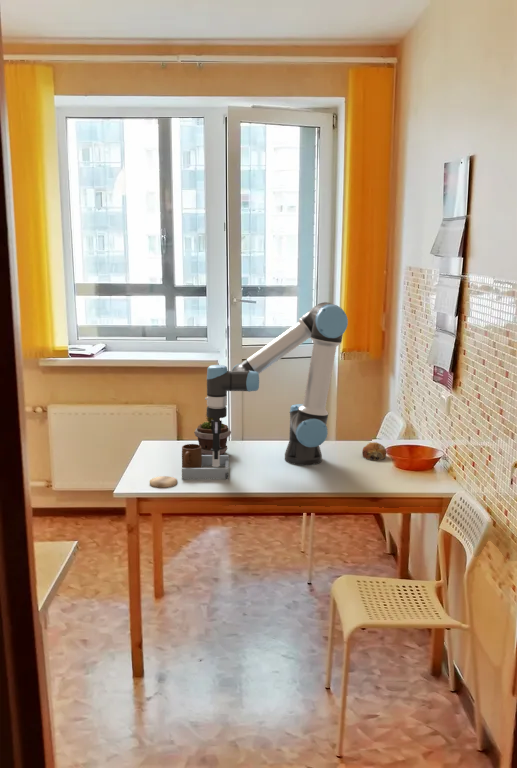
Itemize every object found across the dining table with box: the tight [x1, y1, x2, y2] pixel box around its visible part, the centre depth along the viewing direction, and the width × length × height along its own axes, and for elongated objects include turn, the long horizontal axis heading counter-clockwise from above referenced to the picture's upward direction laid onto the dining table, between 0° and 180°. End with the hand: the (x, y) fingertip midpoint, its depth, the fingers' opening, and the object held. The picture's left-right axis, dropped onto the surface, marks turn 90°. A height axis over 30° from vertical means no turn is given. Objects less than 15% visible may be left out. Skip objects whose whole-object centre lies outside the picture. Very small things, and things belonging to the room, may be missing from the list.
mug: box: [181, 443, 203, 469], centre depth 252 cm, size 12×8×9 cm, turn 170°
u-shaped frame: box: [181, 454, 230, 480], centre depth 253 cm, size 17×17×4 cm
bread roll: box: [361, 441, 387, 461], centre depth 275 cm, size 10×10×8 cm
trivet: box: [149, 475, 178, 489], centre depth 240 cm, size 10×10×1 cm
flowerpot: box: [194, 411, 232, 455], centre depth 274 cm, size 14×15×20 cm
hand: (215, 466), depth 253 cm, fingers closed
